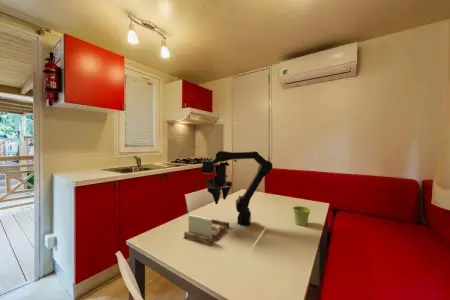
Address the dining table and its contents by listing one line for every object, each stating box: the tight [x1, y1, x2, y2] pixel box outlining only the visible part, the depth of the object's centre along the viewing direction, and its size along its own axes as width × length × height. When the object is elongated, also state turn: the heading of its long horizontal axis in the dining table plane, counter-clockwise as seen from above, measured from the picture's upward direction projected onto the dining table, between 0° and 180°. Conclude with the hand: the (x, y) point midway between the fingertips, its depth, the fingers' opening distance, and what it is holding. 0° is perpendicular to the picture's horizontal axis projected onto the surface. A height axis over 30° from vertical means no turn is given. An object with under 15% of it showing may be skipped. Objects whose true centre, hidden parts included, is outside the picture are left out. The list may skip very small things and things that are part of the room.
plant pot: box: [292, 205, 312, 227], centre depth 107 cm, size 9×9×9 cm
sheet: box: [188, 214, 213, 241], centre depth 87 cm, size 12×2×10 cm, turn 64°
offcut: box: [212, 224, 220, 234], centre depth 92 cm, size 5×2×4 cm, turn 64°
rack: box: [182, 218, 231, 247], centre depth 93 cm, size 15×21×3 cm
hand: (220, 201), depth 103 cm, fingers open, 9 cm apart
